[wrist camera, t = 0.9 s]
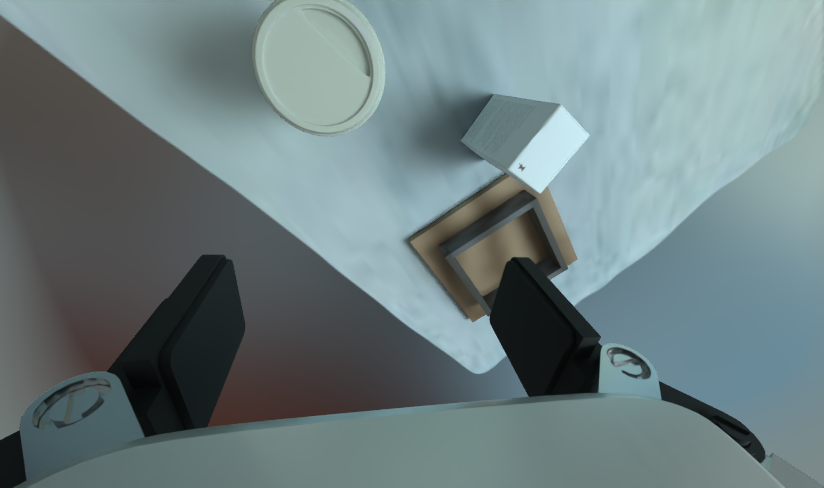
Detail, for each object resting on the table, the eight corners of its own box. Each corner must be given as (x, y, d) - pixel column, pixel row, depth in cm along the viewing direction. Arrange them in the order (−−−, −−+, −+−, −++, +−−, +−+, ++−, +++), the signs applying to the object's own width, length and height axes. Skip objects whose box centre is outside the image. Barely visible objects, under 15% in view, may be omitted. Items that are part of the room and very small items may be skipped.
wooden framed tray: (531, 156, 38) (550, 165, 34) (573, 255, 46) (591, 270, 43) (408, 238, 40) (414, 254, 37) (470, 317, 49) (479, 336, 46)
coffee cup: (385, 103, 32) (404, 119, 22) (306, 128, 32) (286, 157, 21) (356, 1, 27) (361, -39, 17) (263, 30, 27) (212, 7, 17)
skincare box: (485, 161, 37) (539, 197, 27) (459, 140, 35) (505, 170, 25) (520, 115, 35) (592, 135, 25) (494, 91, 33) (560, 101, 23)
